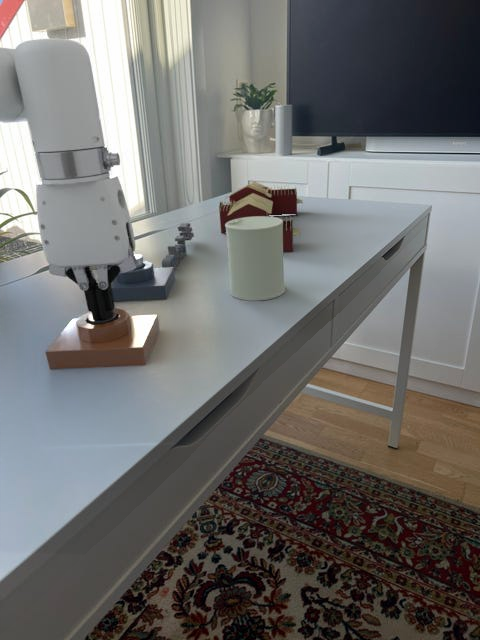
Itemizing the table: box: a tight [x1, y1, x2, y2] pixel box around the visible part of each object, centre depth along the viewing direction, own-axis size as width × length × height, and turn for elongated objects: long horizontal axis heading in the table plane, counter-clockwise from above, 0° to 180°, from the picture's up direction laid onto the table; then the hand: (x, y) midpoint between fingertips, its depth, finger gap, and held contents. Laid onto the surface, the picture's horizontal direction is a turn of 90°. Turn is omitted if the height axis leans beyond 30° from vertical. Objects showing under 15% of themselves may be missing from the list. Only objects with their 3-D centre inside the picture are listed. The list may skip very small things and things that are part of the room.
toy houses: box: [218, 181, 304, 253], centre depth 118 cm, size 45×20×10 cm, turn 175°
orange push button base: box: [45, 307, 161, 370], centre depth 62 cm, size 12×10×4 cm
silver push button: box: [134, 253, 144, 270], centre depth 81 cm, size 4×4×2 cm
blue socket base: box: [111, 260, 176, 303], centre depth 82 cm, size 12×10×4 cm
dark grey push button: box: [88, 311, 117, 325], centre depth 62 cm, size 4×4×2 cm
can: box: [225, 216, 286, 302], centre depth 77 cm, size 9×9×12 cm
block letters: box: [161, 222, 195, 271], centre depth 100 cm, size 25×2×6 cm, turn 175°
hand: (103, 315), depth 61 cm, fingers closed
